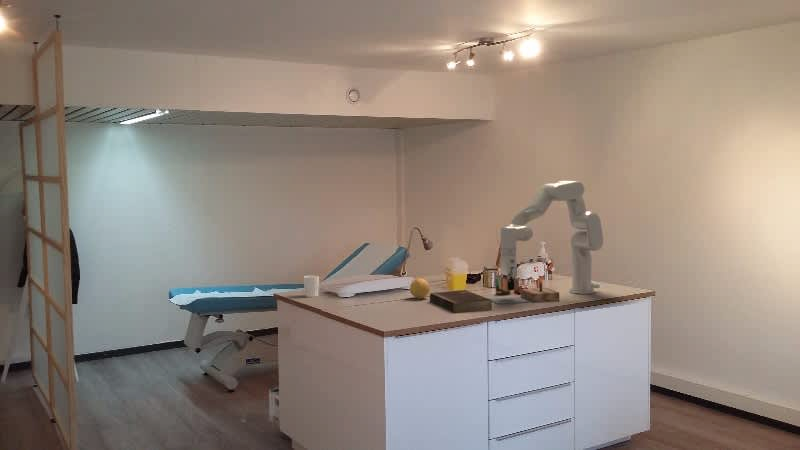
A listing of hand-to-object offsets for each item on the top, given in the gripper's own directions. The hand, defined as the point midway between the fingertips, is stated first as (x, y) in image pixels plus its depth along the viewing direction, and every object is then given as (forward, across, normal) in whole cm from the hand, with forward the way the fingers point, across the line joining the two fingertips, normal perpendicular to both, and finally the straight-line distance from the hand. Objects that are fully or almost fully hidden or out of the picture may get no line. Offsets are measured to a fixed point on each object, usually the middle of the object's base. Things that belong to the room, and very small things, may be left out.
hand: (507, 288), depth 350 cm
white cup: (+7, +41, +90) cm, 99 cm away
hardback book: (+7, -4, +26) cm, 27 cm away
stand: (+6, +1, -17) cm, 18 cm away
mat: (+6, 0, 0) cm, 6 cm away
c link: (0, 0, 0) cm, 1 cm away
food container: (+6, +20, -7) cm, 22 cm away
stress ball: (+7, +19, +39) cm, 44 cm away
